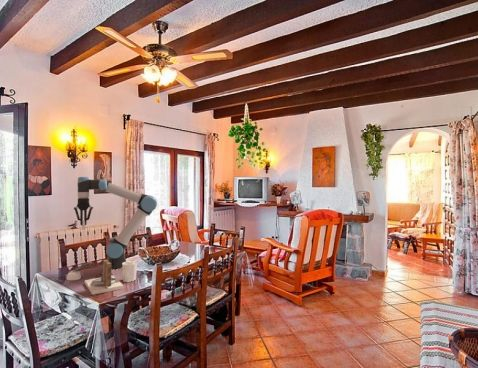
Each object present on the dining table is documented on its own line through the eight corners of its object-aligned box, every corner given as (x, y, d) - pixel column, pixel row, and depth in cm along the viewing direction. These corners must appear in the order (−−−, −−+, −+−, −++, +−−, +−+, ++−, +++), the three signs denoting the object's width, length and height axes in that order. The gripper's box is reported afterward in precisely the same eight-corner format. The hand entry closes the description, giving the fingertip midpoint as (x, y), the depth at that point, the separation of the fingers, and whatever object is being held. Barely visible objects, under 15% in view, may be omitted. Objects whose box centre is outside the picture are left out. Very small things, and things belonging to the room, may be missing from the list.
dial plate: (113, 278, 202) (113, 275, 202) (123, 288, 183) (123, 285, 183) (84, 283, 191) (84, 280, 191) (92, 294, 172) (92, 291, 172)
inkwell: (65, 277, 202) (66, 263, 202) (94, 273, 212) (94, 260, 212) (66, 281, 194) (66, 266, 194) (96, 277, 204) (96, 263, 204)
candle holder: (118, 280, 198) (119, 263, 198) (131, 276, 206) (131, 260, 206) (127, 283, 193) (127, 265, 193) (139, 279, 201) (140, 262, 201)
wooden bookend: (89, 281, 188) (89, 258, 188) (111, 277, 197) (112, 255, 197) (96, 290, 173) (97, 265, 173) (121, 285, 182) (121, 262, 182)
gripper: (92, 197, 219) (92, 228, 220) (72, 197, 211) (72, 229, 211) (94, 197, 214) (94, 229, 214) (74, 198, 205) (74, 231, 206)
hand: (83, 229), depth 213 cm, fingers closed
